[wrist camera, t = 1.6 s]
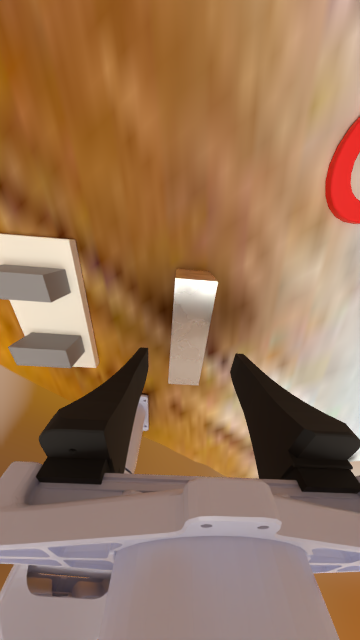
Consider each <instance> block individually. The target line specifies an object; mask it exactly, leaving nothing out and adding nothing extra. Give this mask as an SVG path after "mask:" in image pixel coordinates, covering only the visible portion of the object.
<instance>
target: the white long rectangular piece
mask: <svg viewBox="0 0 360 640" xmlns="http://www.w3.org/2000/svg"><path fill="white" fill-rule="evenodd" d="M217 284H218V281H217V280H216V279H215V278H214V277H213V276H212V274H211V273H210V272H209V271H200V270H188V269H176V276H175V289H174V304H173V319H172V334H171V349H170V363H169V378H168V384H184V385H199V380H200V374H201V369H202V364H203V358H204V353H205V348H206V343H207V337H208V332H209V327H210V321H211V316H212V311H213V305H214V300H215V295H216V290H217Z"/></svg>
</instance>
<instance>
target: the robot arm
mask: <svg viewBox="0 0 360 640" xmlns="http://www.w3.org/2000/svg"><path fill="white" fill-rule="evenodd" d="M147 372H148V348H139V349H138V351H137V352H136V353H135V354H134V355H133V357H132V358H131V359H130V360H129V361H128V362H127V363H126V364H125V365H124V366H123V367H122V368H121V369H120V370H119V371H118V372H117V373H116V374H114V375H113V376H112V377H111V378H110V379H108V380H107V381H106V382H105V383H103V384H102V385H101V386H99V387H98V388H96V389H95V390H93V391H92V392H90V393H89V394H87V395H85V396H84V397H82V398H80V399H78V400H77V401H75V402H73V403H71V404H69V405H67V406H65V407H63V408H61V409H59V410H58V412H57V413H56V414H55V415H54V416H53V418H52V419H51V420H50V422H49V423H48V425H47V426H46V427H45V429H44V430H43V432H42V433H41V435H40V436H39V442H40V444H41V447H42V448H43V450H44V452H45V453H46V455H47V459H46V461H45V462H44V464H43V465H42V464H40V463H36V462H18V461H15V462H12V463H11V465H10V466H9V467H8V468H7V470H6V471H5V472H4V474H3V475H2V476H1V478H0V563H1V564H14V566H13V568H12V570H11V572H10V574H9V575H8V578H7V579H6V582H5V584H4V586H3V588H2V590H1V592H0V640H97V639H98V640H339V637H338V635H337V632H336V630H335V627H334V625H333V622H332V620H331V617H330V615H329V612H328V610H327V607H326V605H325V602H324V600H323V597H322V595H321V592H320V589H319V587H318V584H317V582H316V579H315V577H314V574H313V573H331V572H360V476H356V477H355V476H354V474H353V473H352V472H351V470H350V469H353V467H352V465H351V464H350V463H349V461H348V460H347V459H349V458H350V457H351V456H352V455H353V454H354V453H355V452H356V451H357V450H358V449H359V448H360V439H359V438H358V437H357V436H356V435H355V434H354V433H353V432H352V430H351V429H350V428H349V427H348V426H347V425H346V424H345V423H343V422H341V421H339V420H337V419H335V418H333V417H331V416H329V415H327V414H325V413H323V412H321V411H319V410H318V409H316V408H314V407H312V406H310V405H309V404H307V403H305V402H303V401H302V400H300V399H299V398H297V397H296V396H294V395H292V394H291V393H289V392H288V391H287V390H285V389H284V388H282V387H281V386H280V385H278V384H277V383H276V382H274V381H273V380H272V379H271V378H269V377H268V376H267V375H266V374H265V373H264V372H262V371H261V370H260V369H259V368H258V367H257V366H256V365H255V364H254V363H252V362H251V361H250V360H249V359H248V358H247V357H246V356H245V355H244V354H235V358H234V361H233V364H232V368H231V371H230V373H231V378H232V382H233V385H234V388H235V391H236V394H237V396H238V399H239V401H240V404H241V407H242V409H243V412H244V415H245V419H246V422H247V426H248V430H249V434H250V438H251V442H252V446H253V451H254V455H255V460H256V465H257V470H258V475H259V479H252V478H224V477H198V476H172V475H146V474H145V475H144V474H134V470H135V467H136V462H137V457H138V452H139V447H140V442H141V437H142V432H143V431H147V430H148V429H149V417H148V396H147V395H141V394H142V391H143V387H144V384H145V381H146V377H147ZM39 573H44V574H55V575H67V576H79V577H90V578H78V577H67V576H55V575H42V574H39Z"/></svg>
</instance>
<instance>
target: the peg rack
mask: <svg viewBox="0 0 360 640" xmlns="http://www.w3.org/2000/svg"><path fill="white" fill-rule="evenodd" d="M0 299H7V300H10V302H11V305H12V307H13V309H14V312H15V314H16V316H17V319H18V321H19V323H20V326H21V328H22V330H23V333H24V335H25V337H23V338H22V339H20V340H19V341H17V342H15V343H14V344H12V345H11V346H9V347H8V348H9V350H10V352H11V354H12V356H13V358H14V360H15V362H16V364H17V365H26V366H44V367H61V368H72V367H90V368H96V367H97V366H98V364H99V359H98V354H97V349H96V343H95V338H94V333H93V328H92V323H91V318H90V313H89V308H88V303H87V298H86V293H85V288H84V283H83V277H82V272H81V267H80V262H79V257H78V252H77V247H76V242H75V240H72V239H60V238H48V237H37V236H25V235H13V234H1V233H0Z"/></svg>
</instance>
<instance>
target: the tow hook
mask: <svg viewBox="0 0 360 640" xmlns="http://www.w3.org/2000/svg"><path fill="white" fill-rule="evenodd" d="M359 152H360V117H359V118H358V119H357V120H356V121H355V122H354V124H353V125H352V126H351V127H350V128H349V130H348V131H347V133H346V134H345V136H344V137H343V139H342V140H341V142H340V144H339V145H338V147H337V149H336V151H335V153H334V156H333V158H332V160H331V163H330V165H329V169H328V173H327V178H326V200H327V203H328V207H329V209H330V210H331V212H332V213H333V214H334V216H335V217H337V218H338V219H340V220H341V221H343V222H347V223H353V224H359V223H360V201H359V200H358V199H356V197H355V196H354V194H353V193H352V189H351V184H350V182H351V172H352V169H353V165H354V162H355V160H356V158H357V156H358V154H359Z"/></svg>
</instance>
